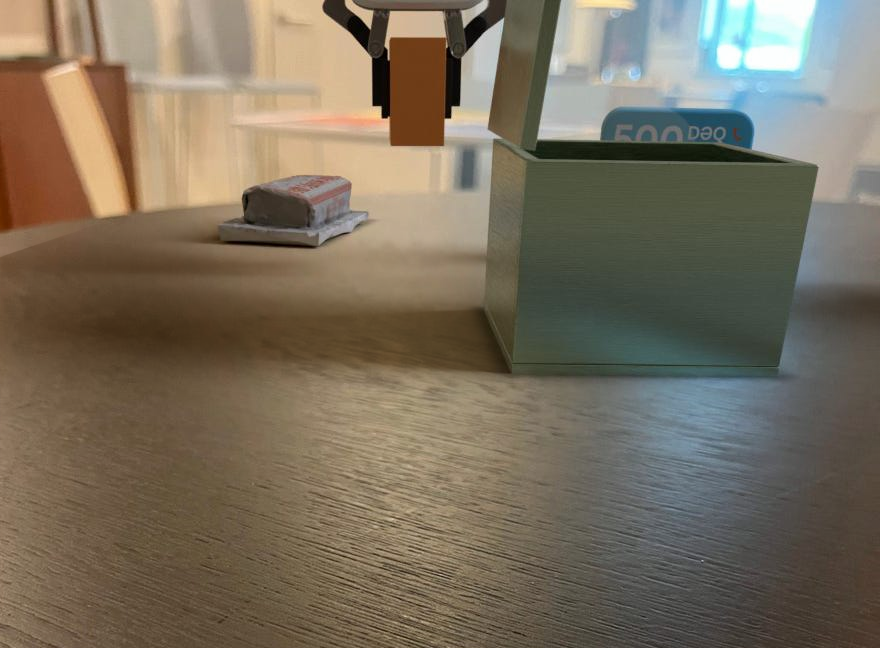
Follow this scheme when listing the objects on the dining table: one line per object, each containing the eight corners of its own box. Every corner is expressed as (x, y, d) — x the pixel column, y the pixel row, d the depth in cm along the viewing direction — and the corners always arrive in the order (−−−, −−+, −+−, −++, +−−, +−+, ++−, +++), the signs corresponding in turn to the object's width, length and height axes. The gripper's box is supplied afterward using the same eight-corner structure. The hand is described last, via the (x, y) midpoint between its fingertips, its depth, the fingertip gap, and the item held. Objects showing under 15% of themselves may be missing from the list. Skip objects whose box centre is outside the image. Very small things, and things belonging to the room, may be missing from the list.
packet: (438, 139, 83) (440, 40, 80) (444, 146, 76) (446, 37, 73) (389, 139, 83) (389, 40, 80) (390, 146, 76) (390, 37, 73)
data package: (589, 264, 88) (605, 107, 82) (588, 256, 92) (603, 105, 86) (731, 270, 87) (758, 111, 81) (724, 261, 90) (749, 109, 85)
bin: (694, 316, 70) (721, 142, 65) (776, 381, 56) (819, 164, 50) (483, 313, 70) (493, 138, 65) (511, 378, 55) (526, 160, 50)
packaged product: (278, 170, 108) (369, 173, 106) (280, 219, 110) (369, 223, 108) (213, 186, 92) (318, 191, 91) (217, 243, 95) (319, 248, 93)
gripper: (292, -196, 66) (304, 120, 75) (548, -194, 67) (530, 120, 76) (299, -172, 73) (310, 116, 82) (533, -171, 73) (518, 116, 82)
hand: (415, 115), depth 79 cm, fingers closed on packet, 4 cm apart
